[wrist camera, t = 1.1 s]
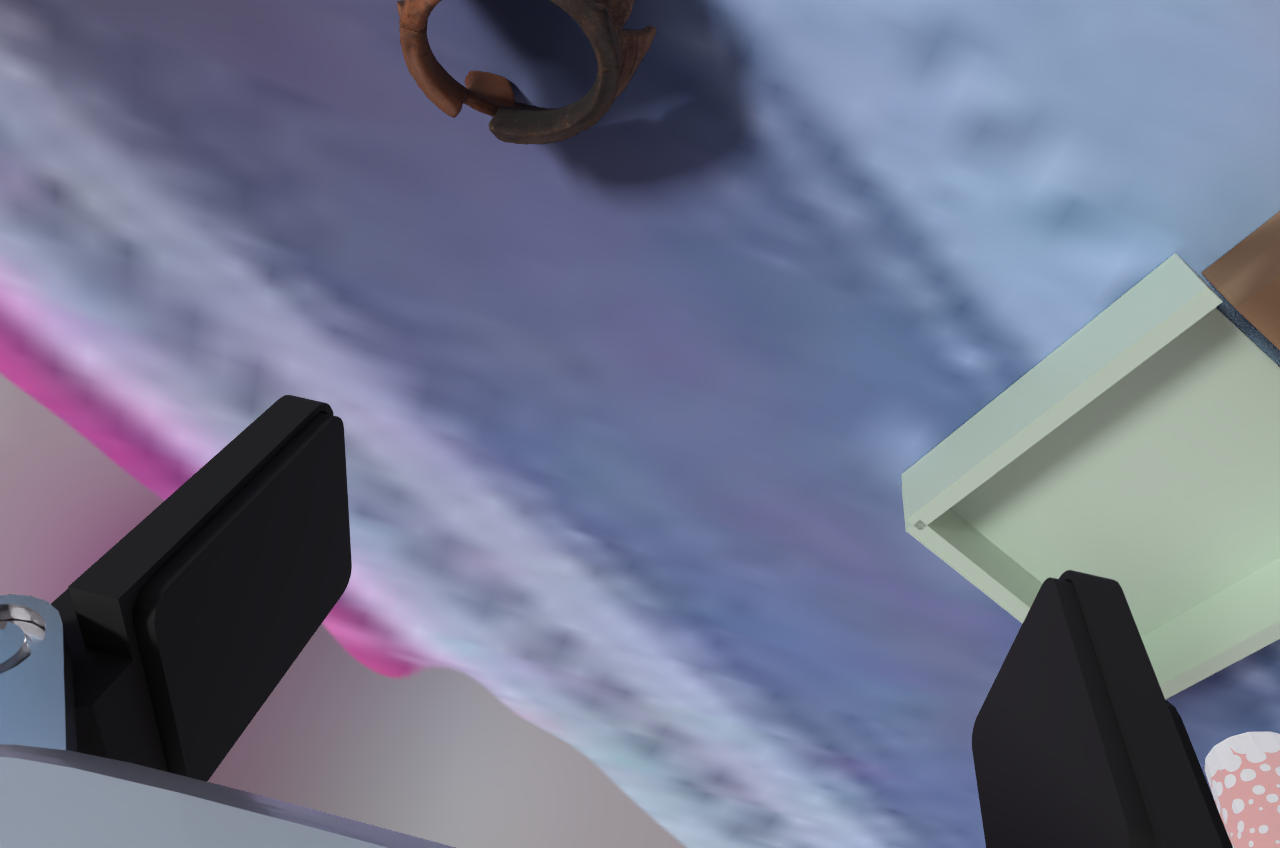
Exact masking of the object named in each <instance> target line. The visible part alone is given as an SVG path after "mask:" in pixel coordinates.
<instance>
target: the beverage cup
mask: <svg viewBox="0 0 1280 848" xmlns="http://www.w3.org/2000/svg"><path fill="white" fill-rule="evenodd" d="M1205 772H1206V775H1207V778H1208V782H1209V785H1210V788H1211V791H1212V794H1213V797H1214V800H1215V803H1216V806H1217V809H1218V811H1219V814H1220V816H1221V819H1222V821H1223V824H1224V826H1225V829H1226V831H1227V834H1228V836H1229V839H1230V841H1231V844H1232V846H1233V848H1280V734H1278V733H1274V732H1247V733H1243V734H1239V735H1235V736H1232V737H1229V738H1227V739H1225V740H1224V741H1222V742H1220V743H1219V744H1217V745H1215V746H1214V747H1213V748H1212V750H1211V751H1210V752H1209V754H1208V755H1207V757H1206V758H1205Z"/></svg>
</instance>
